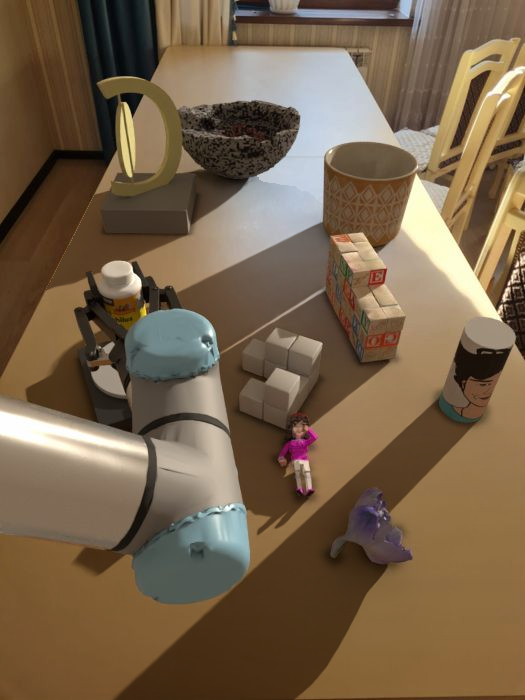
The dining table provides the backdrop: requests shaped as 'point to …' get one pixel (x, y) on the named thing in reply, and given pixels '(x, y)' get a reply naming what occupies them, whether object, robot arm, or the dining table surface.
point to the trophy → (147, 188)
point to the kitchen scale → (107, 392)
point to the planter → (367, 189)
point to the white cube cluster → (279, 375)
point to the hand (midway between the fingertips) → (113, 274)
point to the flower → (373, 531)
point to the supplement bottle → (122, 293)
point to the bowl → (238, 136)
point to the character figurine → (299, 449)
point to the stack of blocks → (363, 297)
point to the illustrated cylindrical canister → (476, 368)
